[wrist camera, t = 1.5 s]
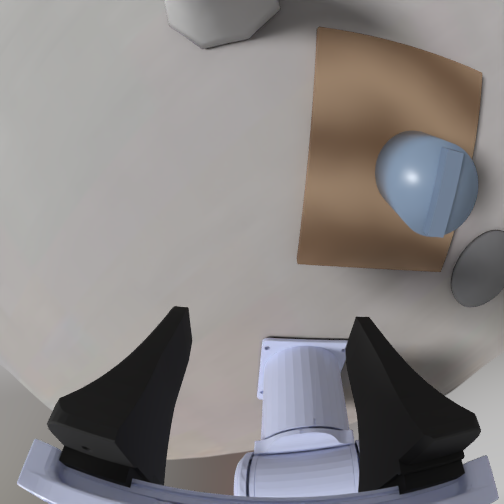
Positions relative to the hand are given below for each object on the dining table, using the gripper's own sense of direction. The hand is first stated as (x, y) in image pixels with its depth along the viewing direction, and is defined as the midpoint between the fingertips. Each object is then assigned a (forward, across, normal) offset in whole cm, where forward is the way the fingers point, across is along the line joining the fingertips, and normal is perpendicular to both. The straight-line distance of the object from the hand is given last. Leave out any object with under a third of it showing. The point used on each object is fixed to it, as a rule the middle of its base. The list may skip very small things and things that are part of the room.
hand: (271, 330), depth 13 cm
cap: (+7, -8, -6) cm, 12 cm away
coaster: (+10, -20, +2) cm, 22 cm away
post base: (+10, -8, -6) cm, 14 cm away
